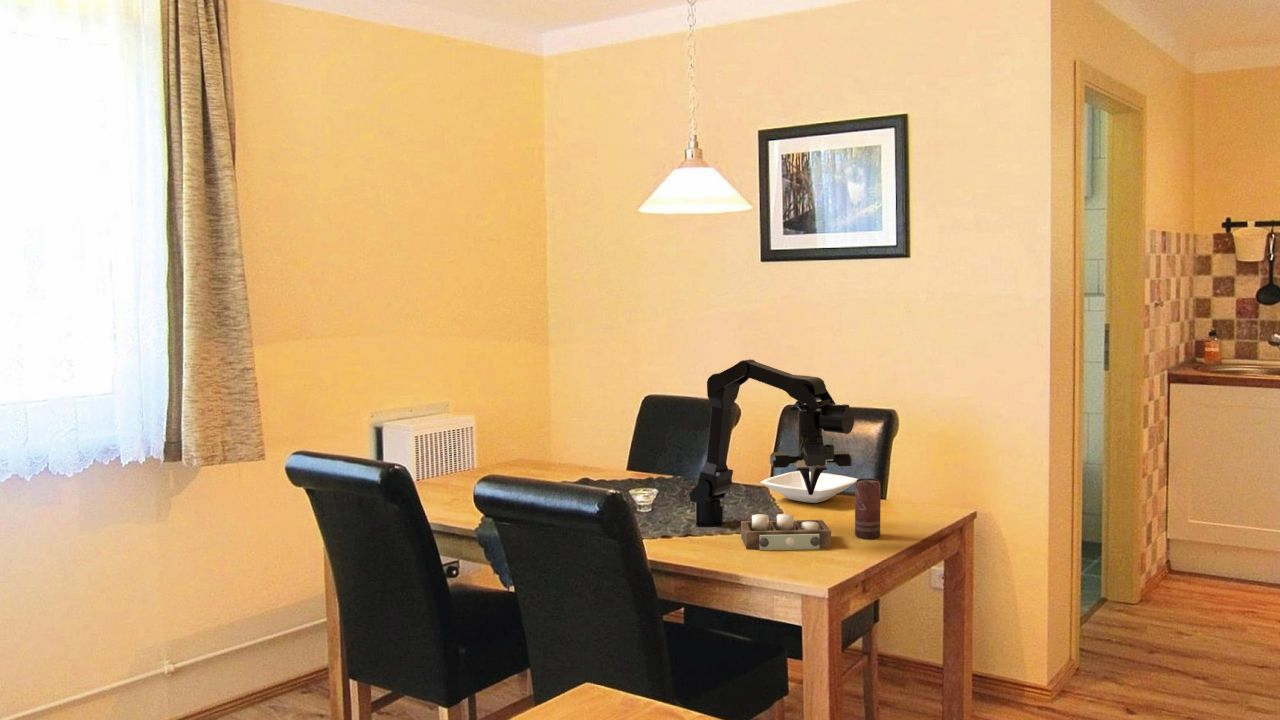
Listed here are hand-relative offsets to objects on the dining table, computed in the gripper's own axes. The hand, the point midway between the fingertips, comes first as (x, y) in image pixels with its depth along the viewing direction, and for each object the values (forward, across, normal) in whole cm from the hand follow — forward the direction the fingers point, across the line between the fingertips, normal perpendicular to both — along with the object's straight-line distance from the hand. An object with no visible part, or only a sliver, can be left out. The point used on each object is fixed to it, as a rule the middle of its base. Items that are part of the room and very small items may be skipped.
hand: (810, 494), depth 264 cm
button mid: (+8, -6, 0) cm, 10 cm away
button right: (+10, 0, 0) cm, 10 cm away
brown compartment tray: (+12, -6, 0) cm, 13 cm away
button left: (+8, -12, 0) cm, 15 cm away
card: (+12, -6, -6) cm, 15 cm away
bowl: (+12, +8, +46) cm, 48 cm away
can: (+12, +15, +4) cm, 19 cm away
